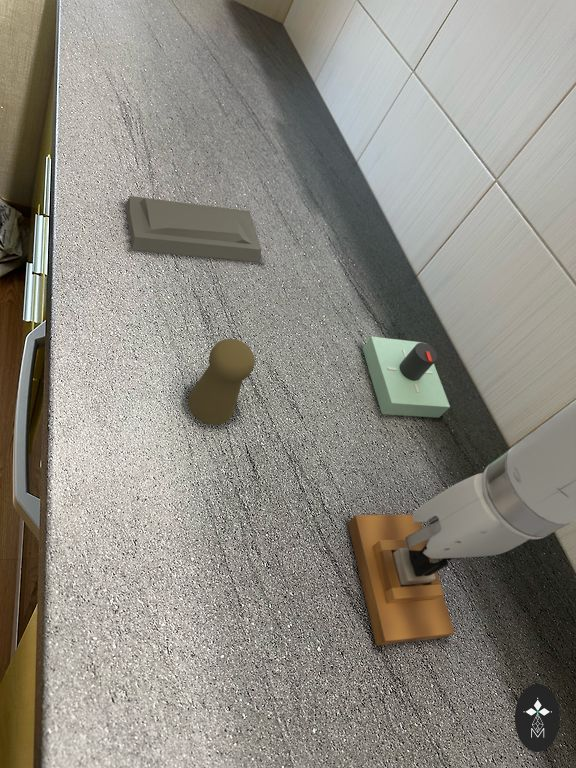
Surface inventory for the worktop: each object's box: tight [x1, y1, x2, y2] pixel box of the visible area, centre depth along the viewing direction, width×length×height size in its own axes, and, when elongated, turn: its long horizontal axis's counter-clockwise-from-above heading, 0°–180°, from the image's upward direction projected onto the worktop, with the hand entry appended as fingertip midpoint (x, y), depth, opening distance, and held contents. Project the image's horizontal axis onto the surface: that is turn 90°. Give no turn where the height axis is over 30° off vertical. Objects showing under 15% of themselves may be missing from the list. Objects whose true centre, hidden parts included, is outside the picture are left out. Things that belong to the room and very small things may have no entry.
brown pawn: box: [187, 338, 256, 426], centre depth 68 cm, size 6×6×11 cm
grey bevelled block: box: [124, 195, 262, 263], centre depth 89 cm, size 10×20×4 cm, turn 105°
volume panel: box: [362, 336, 451, 419], centre depth 86 cm, size 10×12×3 cm
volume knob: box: [400, 342, 438, 381], centre depth 83 cm, size 4×4×5 cm
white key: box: [392, 548, 436, 585], centre depth 64 cm, size 4×4×2 cm
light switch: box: [347, 513, 456, 647], centre depth 66 cm, size 9×14×4 cm, turn 10°
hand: (418, 562), depth 63 cm, fingers closed
